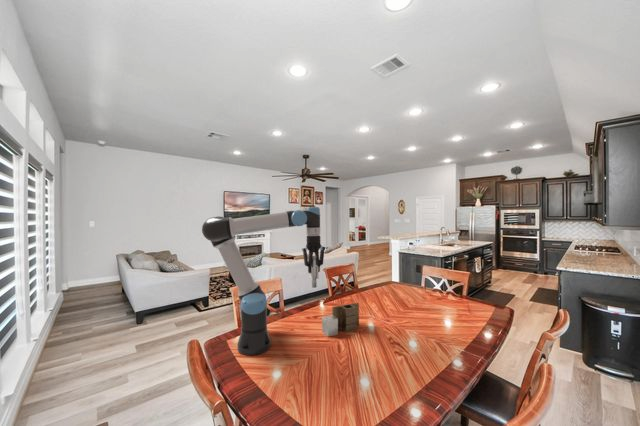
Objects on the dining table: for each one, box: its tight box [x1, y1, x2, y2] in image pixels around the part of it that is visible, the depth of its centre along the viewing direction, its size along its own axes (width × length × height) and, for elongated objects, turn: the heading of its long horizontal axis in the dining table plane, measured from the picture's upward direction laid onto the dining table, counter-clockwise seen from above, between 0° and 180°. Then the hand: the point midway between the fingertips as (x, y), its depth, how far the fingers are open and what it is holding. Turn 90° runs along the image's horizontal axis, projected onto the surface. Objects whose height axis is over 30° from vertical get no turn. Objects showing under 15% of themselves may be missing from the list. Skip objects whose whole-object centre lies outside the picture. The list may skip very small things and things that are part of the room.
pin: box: [311, 255, 318, 289], centre depth 144 cm, size 3×3×17 cm
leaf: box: [321, 305, 356, 338], centre depth 139 cm, size 17×6×12 cm, turn 114°
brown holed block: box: [340, 302, 360, 333], centre depth 143 cm, size 11×6×12 cm, turn 114°
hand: (314, 278), depth 144 cm, fingers closed on pin, 2 cm apart
